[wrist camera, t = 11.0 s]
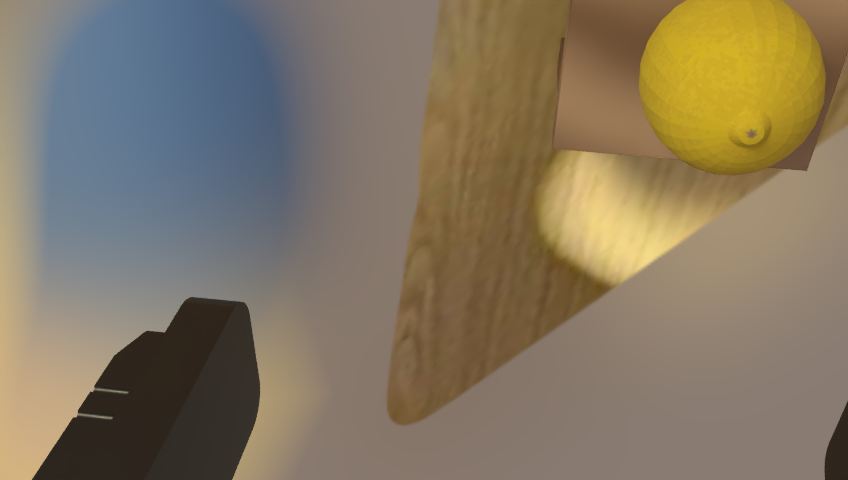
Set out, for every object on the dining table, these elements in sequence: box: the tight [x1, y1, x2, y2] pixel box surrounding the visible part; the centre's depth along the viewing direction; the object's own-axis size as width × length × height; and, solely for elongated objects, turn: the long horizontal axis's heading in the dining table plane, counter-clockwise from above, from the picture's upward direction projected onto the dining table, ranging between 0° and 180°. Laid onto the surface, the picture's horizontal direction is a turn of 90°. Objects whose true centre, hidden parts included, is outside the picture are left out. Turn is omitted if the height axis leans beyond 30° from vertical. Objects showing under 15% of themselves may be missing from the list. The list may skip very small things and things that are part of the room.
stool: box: [553, 0, 848, 171], centre depth 32 cm, size 10×10×8 cm
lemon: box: [639, 0, 826, 175], centre depth 26 cm, size 6×6×8 cm
